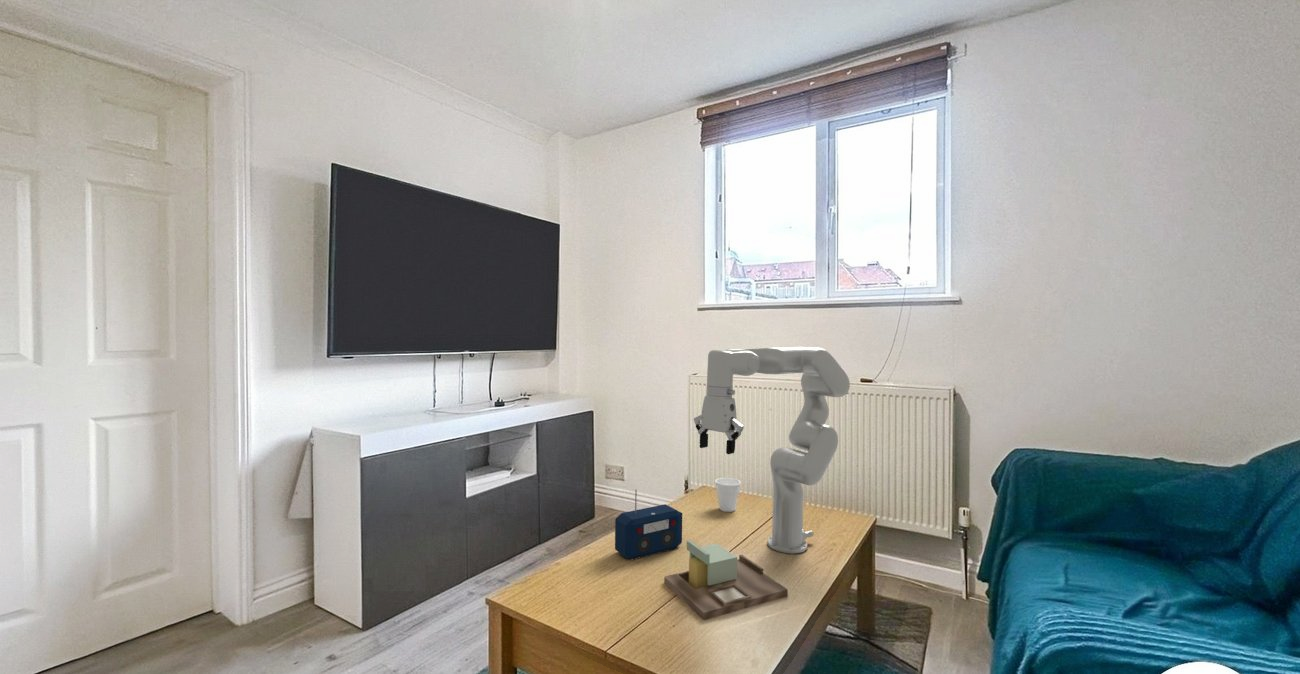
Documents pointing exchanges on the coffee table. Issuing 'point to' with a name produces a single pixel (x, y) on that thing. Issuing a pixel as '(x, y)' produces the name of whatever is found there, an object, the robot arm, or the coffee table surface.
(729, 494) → the cup
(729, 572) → the cover
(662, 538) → the radio
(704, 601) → the puzzle board
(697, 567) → the block
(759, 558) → the coffee table surface
